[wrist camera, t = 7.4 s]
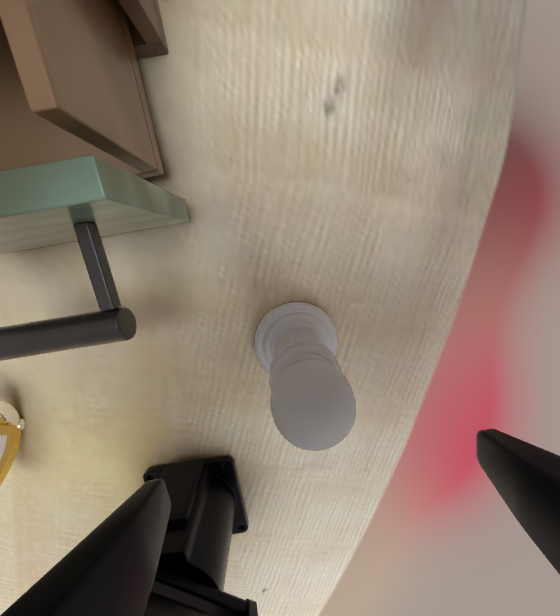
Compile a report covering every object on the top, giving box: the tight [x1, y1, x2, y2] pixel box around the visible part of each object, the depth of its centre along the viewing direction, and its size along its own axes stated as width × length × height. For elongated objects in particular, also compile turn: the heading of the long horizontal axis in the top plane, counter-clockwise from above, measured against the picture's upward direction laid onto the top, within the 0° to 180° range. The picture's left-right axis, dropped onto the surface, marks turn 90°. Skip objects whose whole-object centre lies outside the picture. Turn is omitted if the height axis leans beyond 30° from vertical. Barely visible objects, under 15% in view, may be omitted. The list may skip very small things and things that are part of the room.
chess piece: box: [254, 302, 356, 451], centre depth 14 cm, size 5×5×9 cm
